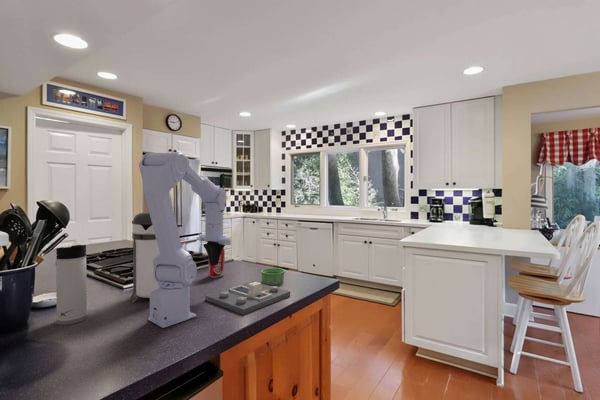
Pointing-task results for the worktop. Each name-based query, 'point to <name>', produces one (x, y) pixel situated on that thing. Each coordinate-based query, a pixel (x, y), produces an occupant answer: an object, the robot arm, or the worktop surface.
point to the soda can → (217, 267)
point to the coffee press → (143, 256)
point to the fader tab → (254, 288)
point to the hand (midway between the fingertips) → (214, 264)
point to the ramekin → (272, 276)
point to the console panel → (246, 298)
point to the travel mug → (71, 284)
